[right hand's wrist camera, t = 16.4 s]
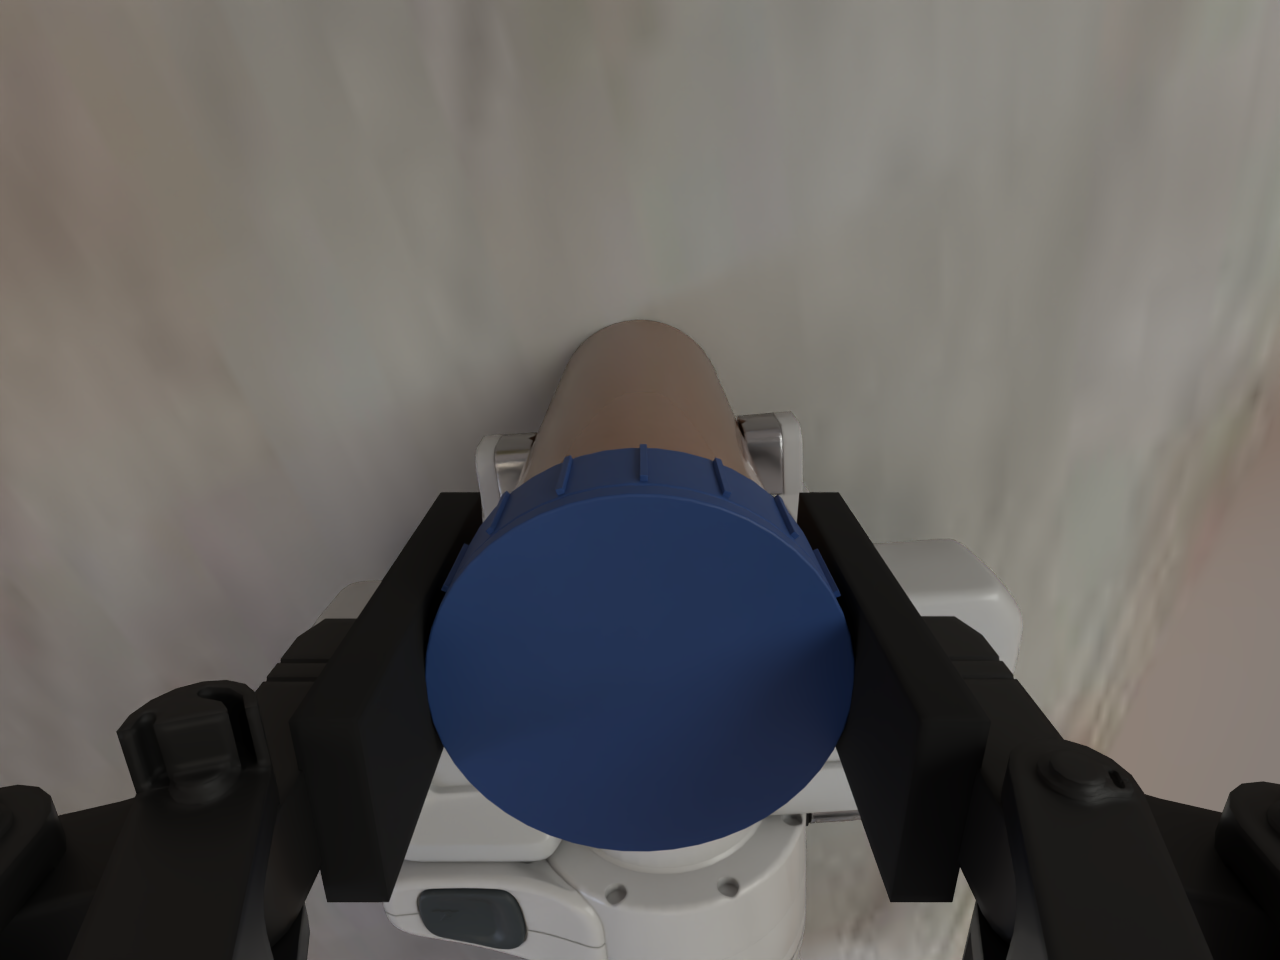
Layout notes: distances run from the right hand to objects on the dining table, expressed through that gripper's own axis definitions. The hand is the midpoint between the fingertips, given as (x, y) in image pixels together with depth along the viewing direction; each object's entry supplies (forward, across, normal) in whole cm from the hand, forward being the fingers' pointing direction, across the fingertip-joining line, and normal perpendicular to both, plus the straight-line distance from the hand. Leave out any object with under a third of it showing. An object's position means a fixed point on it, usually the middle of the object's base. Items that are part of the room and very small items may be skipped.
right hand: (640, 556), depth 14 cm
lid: (-4, 0, 0) cm, 4 cm away
